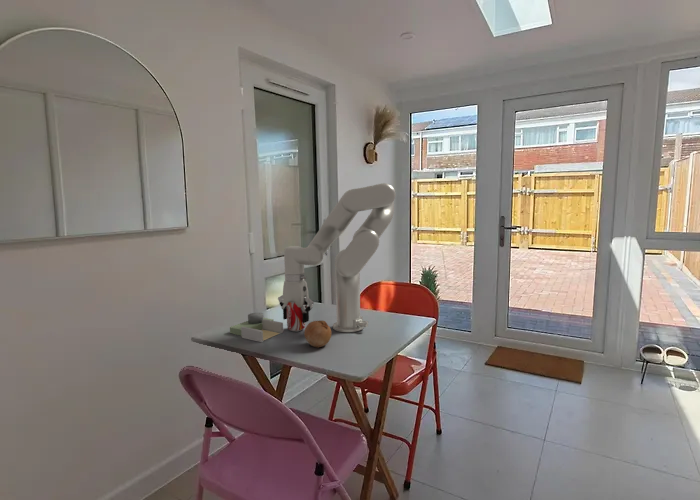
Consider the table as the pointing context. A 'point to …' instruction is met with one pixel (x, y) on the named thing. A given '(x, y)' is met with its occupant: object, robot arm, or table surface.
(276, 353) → the table surface
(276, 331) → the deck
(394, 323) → the table surface
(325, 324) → the onion
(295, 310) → the soda can
